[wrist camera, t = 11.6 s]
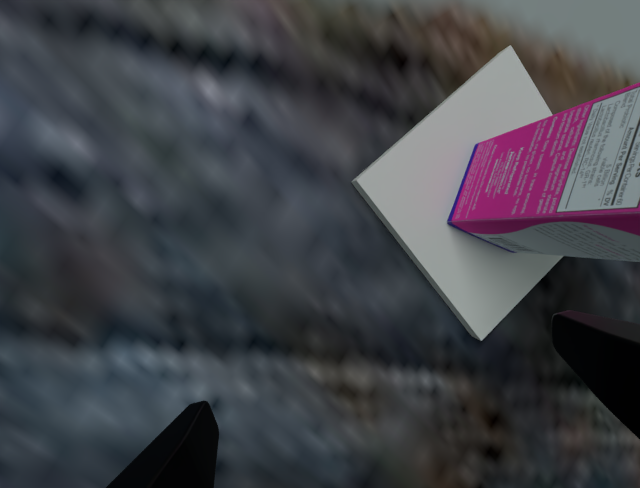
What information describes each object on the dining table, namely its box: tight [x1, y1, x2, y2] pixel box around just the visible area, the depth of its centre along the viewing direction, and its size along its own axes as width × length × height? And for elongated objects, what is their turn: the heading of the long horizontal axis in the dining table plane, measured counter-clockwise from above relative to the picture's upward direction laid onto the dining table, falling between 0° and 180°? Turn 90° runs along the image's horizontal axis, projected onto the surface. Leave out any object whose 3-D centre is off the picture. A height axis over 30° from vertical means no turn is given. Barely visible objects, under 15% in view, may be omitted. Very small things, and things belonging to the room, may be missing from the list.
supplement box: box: [447, 83, 640, 262], centre depth 16 cm, size 6×6×12 cm
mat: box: [351, 45, 563, 341], centre depth 23 cm, size 14×14×1 cm
